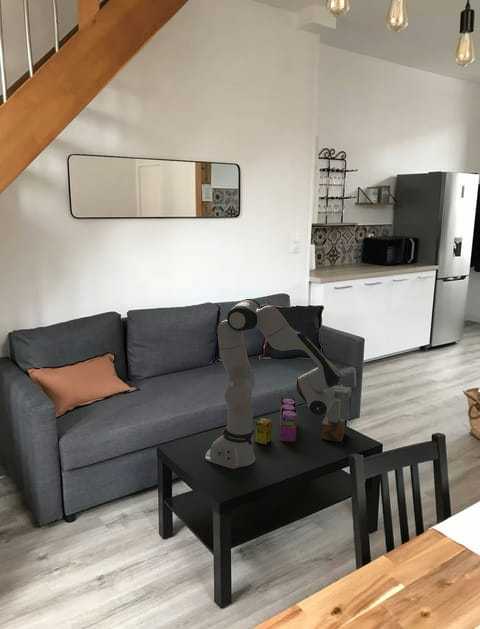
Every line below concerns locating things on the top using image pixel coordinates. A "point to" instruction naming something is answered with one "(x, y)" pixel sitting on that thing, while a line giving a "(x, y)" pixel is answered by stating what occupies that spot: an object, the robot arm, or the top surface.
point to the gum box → (288, 420)
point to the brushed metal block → (334, 412)
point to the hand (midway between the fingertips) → (330, 384)
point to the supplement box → (263, 431)
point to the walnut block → (333, 430)
